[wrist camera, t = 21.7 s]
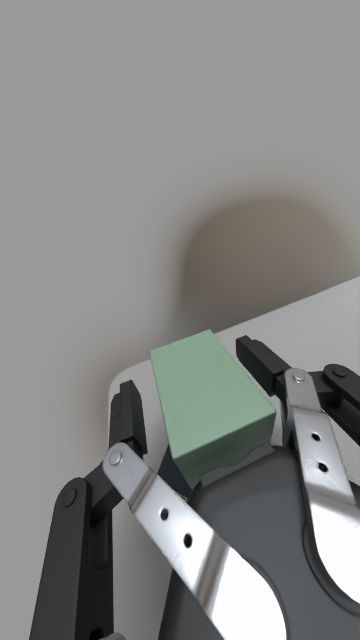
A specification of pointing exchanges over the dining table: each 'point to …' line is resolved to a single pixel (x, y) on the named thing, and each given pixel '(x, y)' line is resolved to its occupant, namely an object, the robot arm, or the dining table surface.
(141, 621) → the dining table surface
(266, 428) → the green rectangular block
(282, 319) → the dining table surface
